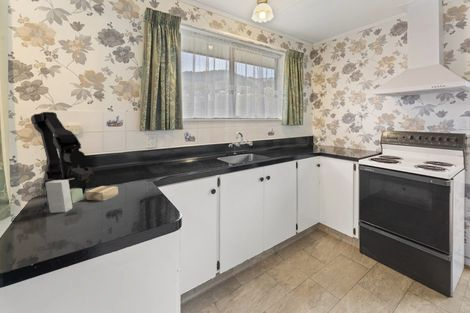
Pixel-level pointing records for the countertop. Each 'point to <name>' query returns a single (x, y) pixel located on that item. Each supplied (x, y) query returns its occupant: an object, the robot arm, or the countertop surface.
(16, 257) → the countertop surface
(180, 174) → the countertop surface
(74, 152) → the robot arm
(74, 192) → the sage cube
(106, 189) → the maple block
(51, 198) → the skincare box
